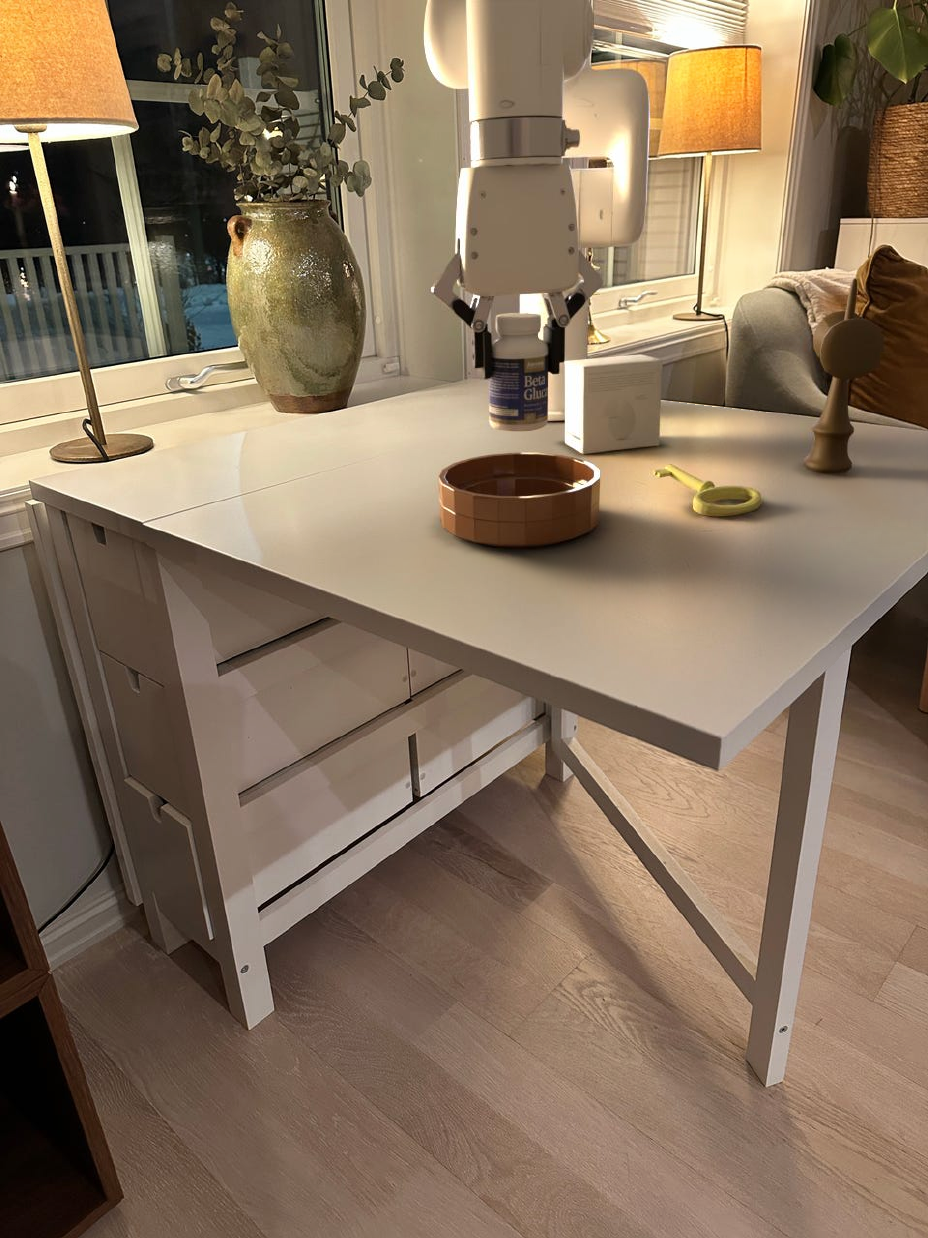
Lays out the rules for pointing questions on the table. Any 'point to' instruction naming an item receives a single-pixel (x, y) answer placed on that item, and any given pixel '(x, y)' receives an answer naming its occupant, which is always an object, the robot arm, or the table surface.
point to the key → (713, 494)
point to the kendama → (841, 380)
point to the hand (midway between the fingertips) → (518, 371)
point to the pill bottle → (519, 374)
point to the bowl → (519, 499)
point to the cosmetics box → (612, 403)
